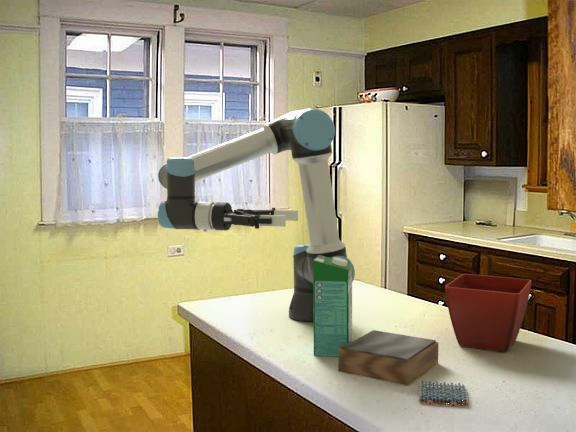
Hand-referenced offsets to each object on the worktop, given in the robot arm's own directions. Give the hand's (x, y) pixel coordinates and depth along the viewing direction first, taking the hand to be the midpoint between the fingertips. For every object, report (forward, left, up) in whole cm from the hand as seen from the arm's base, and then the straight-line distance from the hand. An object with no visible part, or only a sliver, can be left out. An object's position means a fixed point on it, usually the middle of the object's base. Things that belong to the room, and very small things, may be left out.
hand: (291, 218), depth 175 cm
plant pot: (+42, +32, -35) cm, 64 cm away
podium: (+28, 0, -35) cm, 45 cm away
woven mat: (+46, -11, -36) cm, 59 cm away
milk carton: (+10, +4, -35) cm, 37 cm away
